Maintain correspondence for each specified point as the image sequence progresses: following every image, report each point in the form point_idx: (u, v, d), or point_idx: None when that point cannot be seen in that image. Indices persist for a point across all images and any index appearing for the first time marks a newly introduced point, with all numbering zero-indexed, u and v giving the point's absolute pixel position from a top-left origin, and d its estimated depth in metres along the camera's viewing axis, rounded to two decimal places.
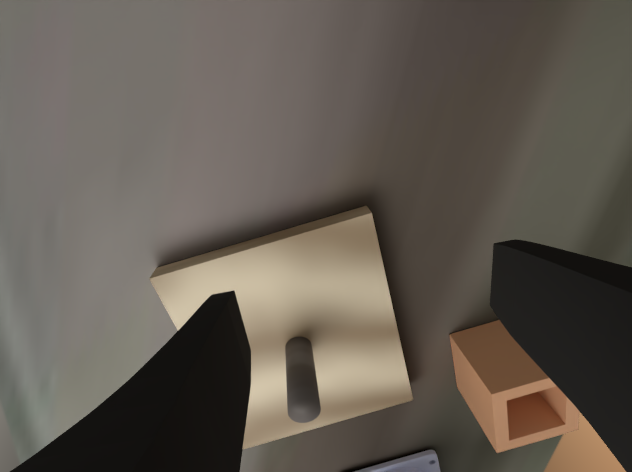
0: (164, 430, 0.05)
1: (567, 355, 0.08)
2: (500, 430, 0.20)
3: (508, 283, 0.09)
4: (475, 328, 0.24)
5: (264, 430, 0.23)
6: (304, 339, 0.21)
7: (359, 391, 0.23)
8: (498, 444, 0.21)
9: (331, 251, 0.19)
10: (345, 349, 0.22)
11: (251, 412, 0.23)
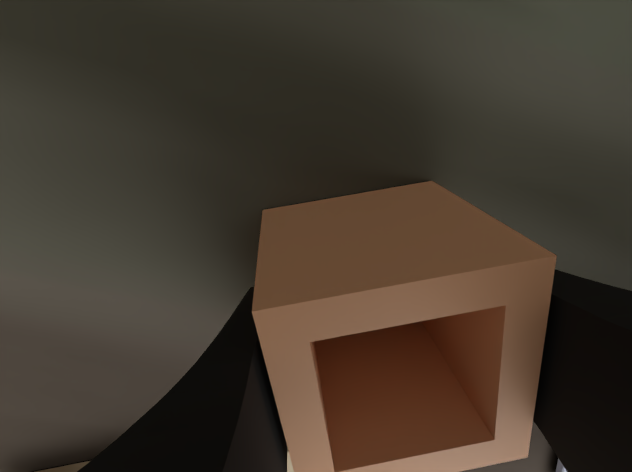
0: (242, 415, 0.05)
1: None
2: (442, 465, 0.08)
3: None
4: None
5: None
6: None
7: None
8: (495, 459, 0.08)
9: None
10: None
11: None
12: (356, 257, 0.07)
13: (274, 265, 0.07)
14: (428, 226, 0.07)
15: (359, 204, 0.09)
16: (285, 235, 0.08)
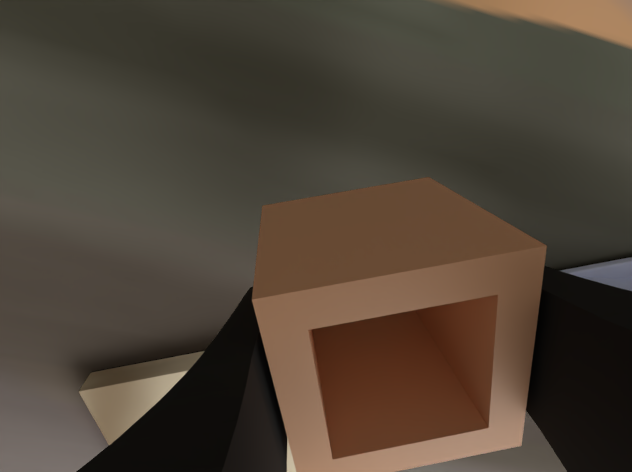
0: (241, 415, 0.05)
1: None
2: (438, 452, 0.08)
3: None
4: None
5: None
6: None
7: None
8: (489, 447, 0.08)
9: (129, 422, 0.18)
10: None
11: None
12: (353, 249, 0.07)
13: (273, 257, 0.07)
14: (424, 219, 0.08)
15: (357, 199, 0.10)
16: (285, 228, 0.08)
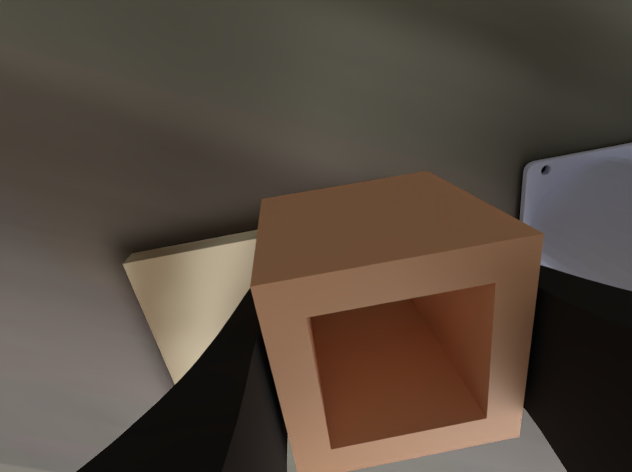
0: (241, 415, 0.05)
1: None
2: (436, 443, 0.08)
3: None
4: None
5: None
6: None
7: None
8: (488, 438, 0.08)
9: (169, 301, 0.18)
10: None
11: None
12: (351, 238, 0.07)
13: (272, 246, 0.07)
14: (422, 210, 0.08)
15: (356, 192, 0.10)
16: (283, 220, 0.08)
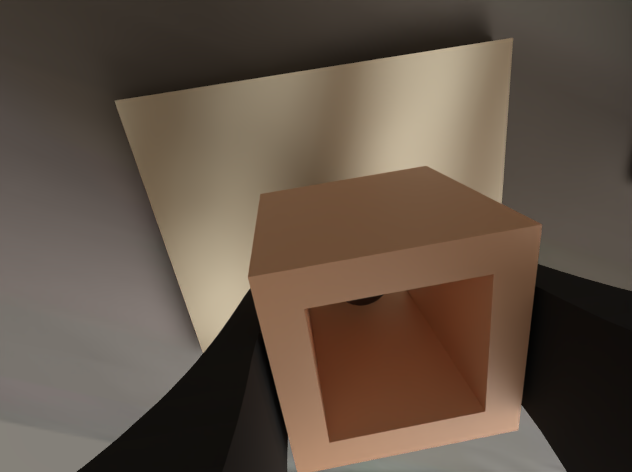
0: (242, 415, 0.05)
1: None
2: (435, 436, 0.08)
3: None
4: None
5: None
6: None
7: (453, 142, 0.14)
8: (486, 432, 0.08)
9: (180, 167, 0.13)
10: (360, 159, 0.14)
11: None
12: (349, 230, 0.07)
13: (270, 239, 0.07)
14: (420, 203, 0.08)
15: (354, 187, 0.10)
16: (282, 214, 0.08)
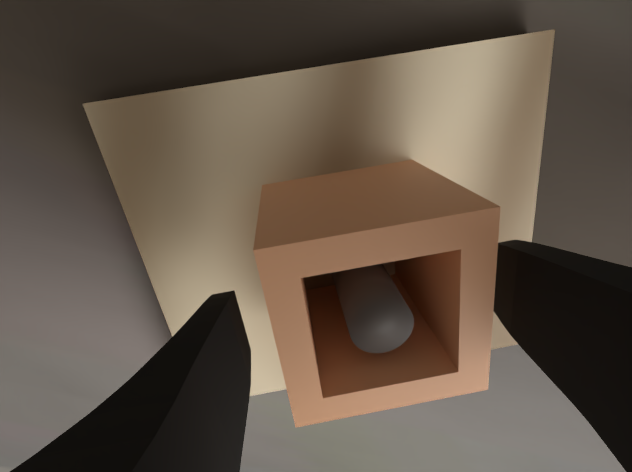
0: (164, 430, 0.05)
1: (567, 355, 0.08)
2: (415, 394, 0.09)
3: (508, 283, 0.09)
4: None
5: None
6: None
7: (481, 151, 0.12)
8: (460, 390, 0.09)
9: (162, 181, 0.11)
10: None
11: None
12: (340, 213, 0.08)
13: (271, 221, 0.08)
14: (402, 191, 0.09)
15: (346, 178, 0.11)
16: (282, 201, 0.10)
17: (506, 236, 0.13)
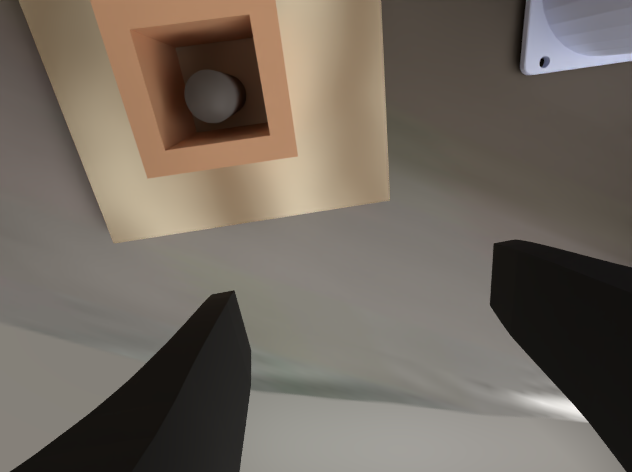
0: (164, 430, 0.05)
1: (567, 355, 0.08)
2: (239, 154, 0.12)
3: (508, 283, 0.09)
4: None
5: (364, 167, 0.17)
6: None
7: (330, 8, 0.15)
8: (275, 155, 0.12)
9: (66, 19, 0.14)
10: None
11: (328, 177, 0.17)
12: None
13: None
14: None
15: None
16: None
17: (363, 91, 0.16)
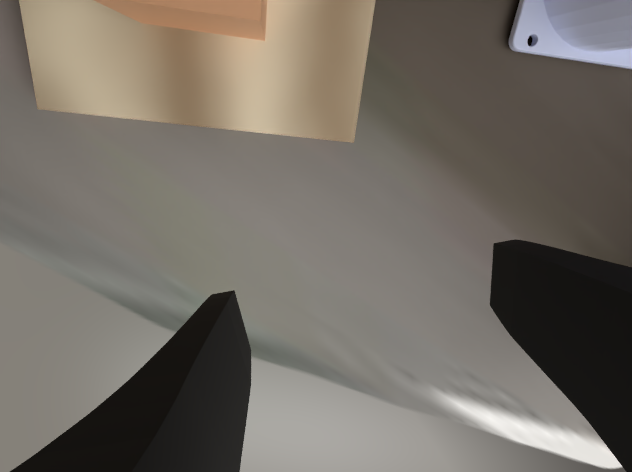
0: (164, 430, 0.05)
1: (567, 355, 0.08)
2: None
3: (508, 283, 0.09)
4: None
5: (335, 97, 0.16)
6: None
7: None
8: (235, 11, 0.10)
9: None
10: None
11: (294, 98, 0.16)
12: None
13: None
14: None
15: None
16: None
17: (350, 12, 0.15)
